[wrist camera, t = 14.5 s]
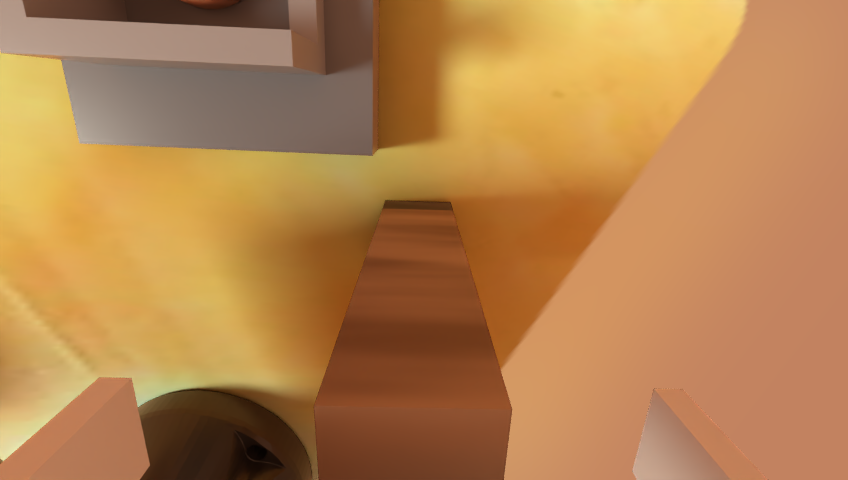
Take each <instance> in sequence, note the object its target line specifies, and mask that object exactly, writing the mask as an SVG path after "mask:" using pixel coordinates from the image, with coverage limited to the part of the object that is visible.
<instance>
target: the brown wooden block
mask: <svg viewBox="0 0 848 480" xmlns="http://www.w3.org/2000/svg"><path fill="white" fill-rule="evenodd" d="M314 414H315V429H316V444H317V459H318V474H319V480H504V472H505V464H506V455H507V448H508V440H509V431H510V423H511V415H512V407H511V404H510V401H509V397H508V394H507V391H506V387H505V384H504V381H503V377H502V374H501V371H500V367H499V364H498V360H497V357H496V354H495V350H494V347H493V344H492V340H491V337H490V334H489V330H488V327H487V324H486V320H485V317H484V313H483V310H482V307H481V303H480V300H479V297H478V293H477V290H476V287H475V283H474V280H473V277H472V273H471V270H470V266H469V263H468V260H467V256H466V253H465V250H464V246H463V243H462V240H461V236H460V233H459V230H458V226H457V223H456V219H455V216H454V213H453V209H452V206H451V203H450V202H423V201H388V200H385V203H384V206H383V209H382V212H381V215H380V217H379V220H378V223H377V226H376V229H375V232H374V235H373V238H372V240H371V243H370V246H369V249H368V252H367V255H366V258H365V261H364V263H363V266H362V269H361V272H360V275H359V278H358V281H357V284H356V286H355V289H354V292H353V295H352V298H351V301H350V304H349V307H348V309H347V312H346V315H345V318H344V321H343V324H342V327H341V330H340V332H339V335H338V338H337V341H336V344H335V347H334V350H333V353H332V355H331V358H330V361H329V364H328V367H327V370H326V373H325V376H324V378H323V381H322V384H321V387H320V390H319V393H318V396H317V399H316V401H315V404H314Z"/></svg>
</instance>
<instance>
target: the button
mask: <svg viewBox="0 0 848 480" xmlns="http://www.w3.org/2000/svg"><path fill="white" fill-rule="evenodd" d="M180 1H183V2H185V3H188V4H190V5H193V6H195V7H199V8H203V9H221V8H225V7H228V6H231V5H233V4H235V3H237V2H238V1H240V0H180Z"/></svg>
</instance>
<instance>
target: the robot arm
mask: <svg viewBox="0 0 848 480" xmlns="http://www.w3.org/2000/svg"><path fill="white" fill-rule="evenodd" d="M632 472H633V473H634V475H635V477H636V478H637V480H768V479H767V478H766V477H765V476H764V475H763V474H762V473H761V472H760V471H759V470H758V468H757V467H756V466H755V465H754V464H753V463H752V462H751V461H750V460H749V459H748V458H747V457H746V456H745V455H744V454H743V452H742V451H741V450H740V449H739V448H738V447H737V446H736V445H735V444H734V443H733V442H732V441H731V440H730V439H729V438H728V437H727V436H726V434H724V432H723V431H722V430H721V429H720V428H719V427H718V426H717V425H716V424H715V423H714V422H713V421H712V420H711V419H710V417H709V416H707V414H706V413H705V412H704V411H703V410H702V409H701V408H700V407H699V406H698V405H697V404H696V403H695V402H694V400H692V398H691V397H690V396H689V395H688V394H687V393H686V392H685V391H684V390H683V389H654V390H653V394H652V398H651V402H650V406H649V409H648V413H647V417H646V421H645V425H644V429H643V432H642V436H641V440H640V444H639V448H638V451H637V455H636V459H635V463H634V467H633V471H632ZM0 480H312V473H311V466H310V462H309V458H308V456H307V453H306V451H305V449H304V447H303V445H302V444H301V442H300V440H299V439H298V438H297V436H296V435H295V434H294V432H293V431H292V430H291V429H290V428H289V427H288V426H287V425H286V424H285V423H284V422H283V421H281V420H280V419H279V418H278V417H276V416H275V415H274V414H272V413H271V412H269V411H268V410H266V409H264V408H262V407H261V406H259V405H257V404H255V403H252V402H250V401H248V400H245V399H242V398H240V397H236V396H233V395H229V394H225V393H219V392H212V391H182V392H175V393H170V394H166V395H163V396H160V397H157V398H154V399H152V400H150V401H148V402H146V403H144V404H143V405H141V406H139V407H137V402H136V397H135V392H134V388H133V383H132V378H98V379H97V380H96V381H95V382H94V383H93V384H91V385H90V386H89V387H88V388H87V389H86V390H85V391H83V392H82V393H81V394H80V395H79V396H78V397H77V398H75V399H74V400H73V401H72V402H71V403H70V404H69V405H67V406H66V407H65V408H64V409H63V410H62V411H61V412H59V413H58V414H57V415H56V416H55V417H54V418H53V419H51V420H50V421H49V422H48V423H47V424H46V425H45V426H43V427H42V428H41V429H40V430H39V431H38V432H37V433H35V434H34V435H33V436H32V437H31V438H30V439H29V440H27V441H26V442H25V443H24V444H23V445H22V446H20V447H19V448H18V449H17V450H16V451H15V452H14V453H12V454H11V455H10V456H9V457H8V458H7V459H6V460H4V461H2V460H1V459H0Z"/></svg>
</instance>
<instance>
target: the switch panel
mask: <svg viewBox="0 0 848 480" xmlns="http://www.w3.org/2000/svg"><path fill="white" fill-rule="evenodd" d="M0 51H1V53H7V54H16V55H25V56H33V57H42V58H51V59H60V60H61V61H62V65H63V70H64V74H65V79H66V84H67V88H68V93H69V97H70V102H71V106H72V111H73V115H74V120H75V125H76V129H77V134H78V138H79V143H84V144H108V145H132V146H155V147H179V148H202V149H226V150H250V151H273V152H297V153H320V154H344V155H368V156H373V155H374V153H375V152H376V151H377V150H378V86H379V0H240V1H238V2H237V3H235V4H233V5H231V6H228V7H225V8H221V9H203V8H199V7H195V6H193V5H190V4H188V3H185V2H183V1H180V0H0Z"/></svg>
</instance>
